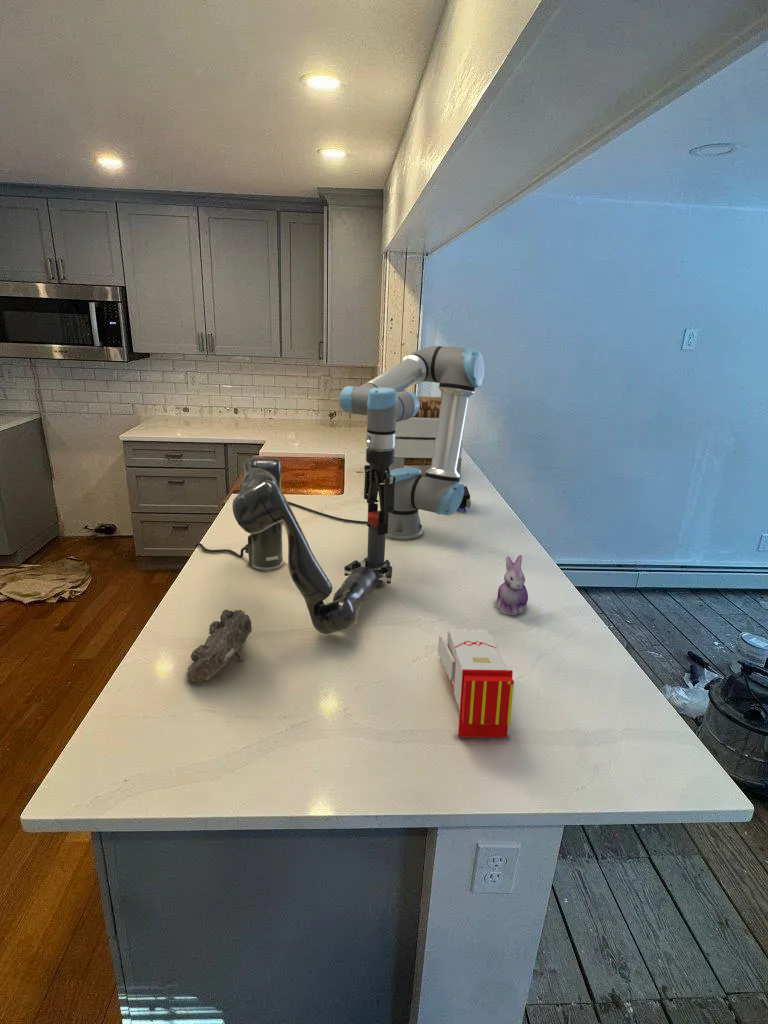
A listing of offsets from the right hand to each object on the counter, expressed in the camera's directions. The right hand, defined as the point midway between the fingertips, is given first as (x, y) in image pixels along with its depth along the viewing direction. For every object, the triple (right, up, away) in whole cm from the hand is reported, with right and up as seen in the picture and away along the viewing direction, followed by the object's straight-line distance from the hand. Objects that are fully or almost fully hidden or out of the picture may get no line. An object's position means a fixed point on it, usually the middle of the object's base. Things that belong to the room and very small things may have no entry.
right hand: (377, 529), depth 157 cm
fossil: (-34, -28, -31) cm, 53 cm away
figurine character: (+33, +7, +72) cm, 79 cm away
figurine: (+36, -21, -4) cm, 42 cm away
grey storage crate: (+19, +24, +118) cm, 122 cm away
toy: (+20, -33, -39) cm, 54 cm away
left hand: (0, -9, +6) cm, 11 cm away
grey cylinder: (-1, -16, +6) cm, 17 cm away
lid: (0, +4, -1) cm, 4 cm away
